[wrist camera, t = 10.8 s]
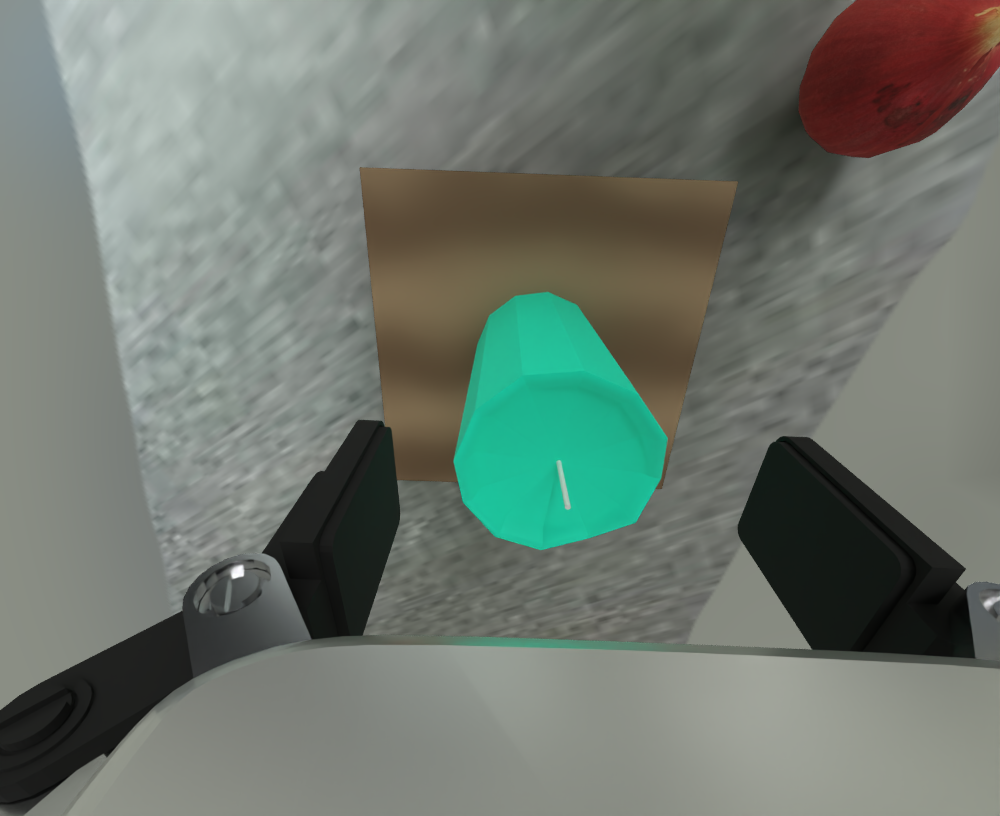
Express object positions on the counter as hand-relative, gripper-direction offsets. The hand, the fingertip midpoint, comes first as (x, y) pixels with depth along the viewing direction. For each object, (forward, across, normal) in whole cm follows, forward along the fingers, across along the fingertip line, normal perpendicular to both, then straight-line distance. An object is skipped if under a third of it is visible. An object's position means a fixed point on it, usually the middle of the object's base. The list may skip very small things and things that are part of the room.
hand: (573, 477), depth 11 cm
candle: (+12, 0, +1) cm, 12 cm away
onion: (+16, -13, -11) cm, 23 cm away
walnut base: (+16, 0, +1) cm, 16 cm away
